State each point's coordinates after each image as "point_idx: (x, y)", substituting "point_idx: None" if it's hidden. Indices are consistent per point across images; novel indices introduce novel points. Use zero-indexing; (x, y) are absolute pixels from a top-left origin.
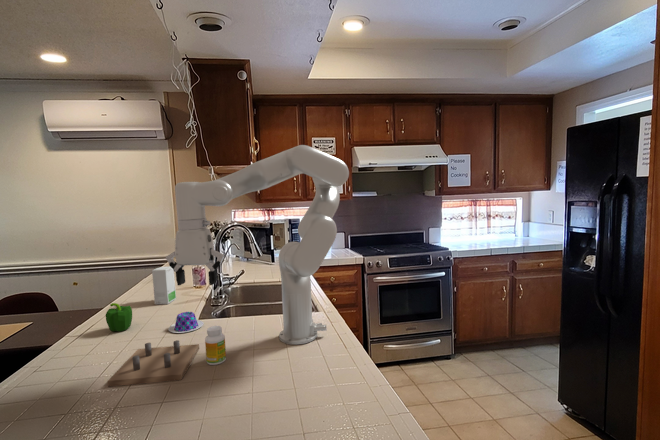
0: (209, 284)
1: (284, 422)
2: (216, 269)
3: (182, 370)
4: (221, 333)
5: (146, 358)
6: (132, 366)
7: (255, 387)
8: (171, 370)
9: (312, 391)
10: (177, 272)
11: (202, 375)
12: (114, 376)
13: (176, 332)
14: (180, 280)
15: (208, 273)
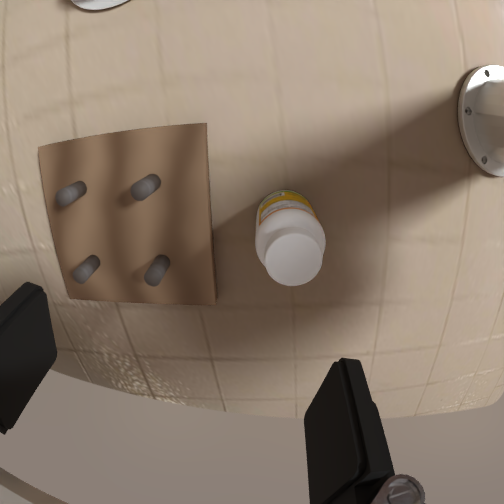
0: (305, 418)
1: (401, 404)
2: (396, 483)
3: (211, 288)
4: (315, 235)
5: (84, 207)
6: (76, 246)
7: (380, 341)
8: (182, 283)
9: (457, 353)
10: (1, 429)
11: (263, 286)
12: (70, 284)
13: (95, 5)
14: (39, 371)
15: (310, 499)
